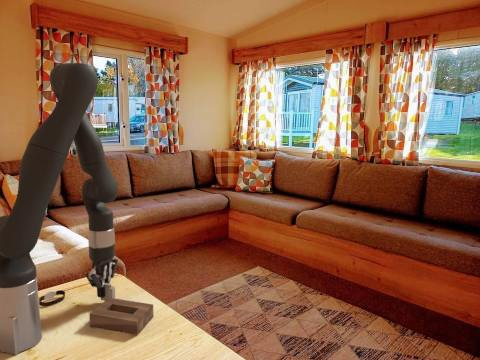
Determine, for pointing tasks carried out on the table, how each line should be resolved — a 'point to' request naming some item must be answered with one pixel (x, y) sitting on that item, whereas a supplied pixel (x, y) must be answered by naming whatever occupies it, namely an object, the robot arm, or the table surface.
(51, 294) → the watch
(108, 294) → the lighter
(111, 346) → the table surface
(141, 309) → the slot stand
